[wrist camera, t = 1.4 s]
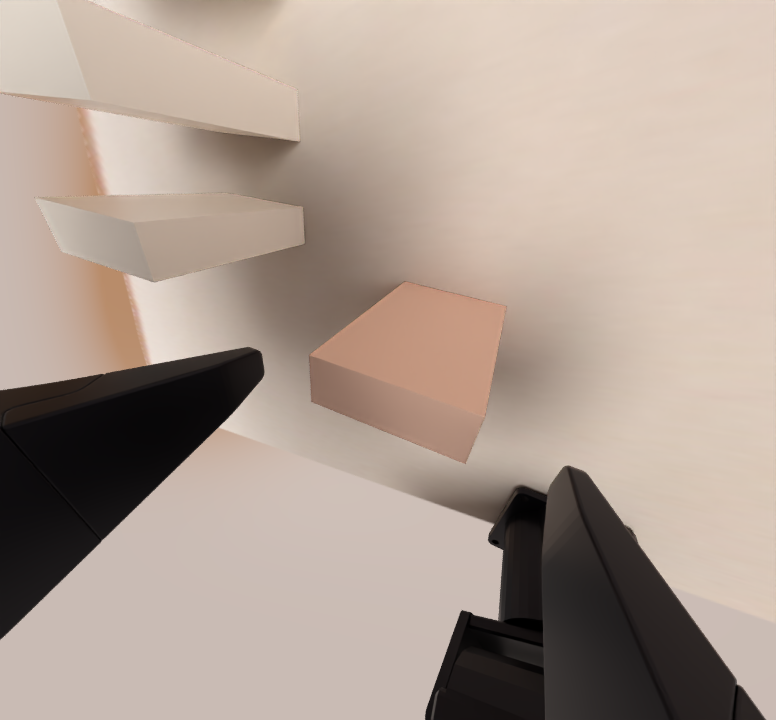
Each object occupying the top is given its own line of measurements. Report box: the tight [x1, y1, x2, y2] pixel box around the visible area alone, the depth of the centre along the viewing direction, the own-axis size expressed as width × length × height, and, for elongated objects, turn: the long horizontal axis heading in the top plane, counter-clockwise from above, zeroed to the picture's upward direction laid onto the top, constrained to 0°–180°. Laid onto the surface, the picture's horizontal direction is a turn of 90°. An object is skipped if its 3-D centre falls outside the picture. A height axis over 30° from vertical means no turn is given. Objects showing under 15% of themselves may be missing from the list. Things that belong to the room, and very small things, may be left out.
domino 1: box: [0, 0, 300, 142], centre depth 10 cm, size 2×5×8 cm, turn 84°
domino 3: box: [309, 282, 506, 464], centre depth 11 cm, size 2×5×8 cm, turn 83°
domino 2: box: [34, 193, 305, 282], centre depth 13 cm, size 2×5×8 cm, turn 84°
